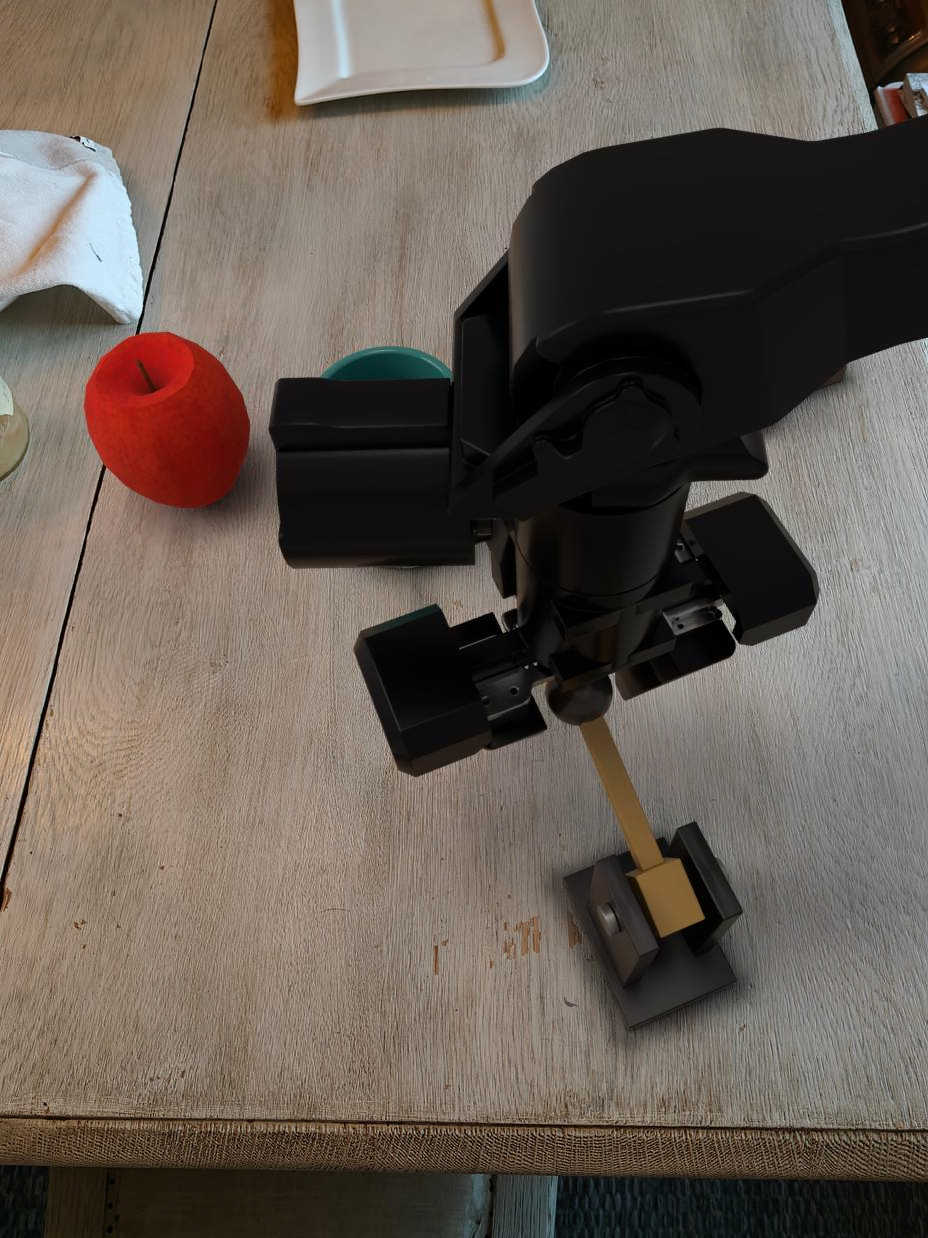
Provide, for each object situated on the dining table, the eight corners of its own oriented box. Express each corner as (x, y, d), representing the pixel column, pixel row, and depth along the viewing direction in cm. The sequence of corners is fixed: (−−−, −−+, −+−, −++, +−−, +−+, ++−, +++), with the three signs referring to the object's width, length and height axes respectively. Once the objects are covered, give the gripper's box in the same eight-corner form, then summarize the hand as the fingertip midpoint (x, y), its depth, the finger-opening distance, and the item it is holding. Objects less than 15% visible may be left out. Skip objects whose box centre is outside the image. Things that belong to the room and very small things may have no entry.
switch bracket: (561, 883, 52) (568, 829, 43) (661, 842, 53) (687, 780, 44) (627, 1031, 48) (648, 1004, 40) (733, 984, 49) (776, 948, 40)
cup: (348, 621, 61) (314, 519, 51) (334, 474, 67) (300, 356, 57) (489, 599, 61) (481, 493, 51) (461, 454, 67) (450, 334, 57)
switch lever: (530, 678, 47) (539, 667, 44) (590, 655, 47) (603, 642, 44) (635, 936, 44) (652, 943, 41) (697, 909, 45) (719, 915, 42)
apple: (117, 455, 69) (42, 327, 58) (248, 411, 70) (197, 277, 59) (147, 561, 64) (71, 443, 53) (287, 511, 65) (239, 386, 55)
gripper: (721, 298, 38) (671, 523, 52) (279, 447, 36) (348, 642, 50) (879, 504, 33) (778, 694, 47) (372, 695, 31) (421, 837, 44)
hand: (577, 709), depth 47 cm, fingers open, 5 cm apart
